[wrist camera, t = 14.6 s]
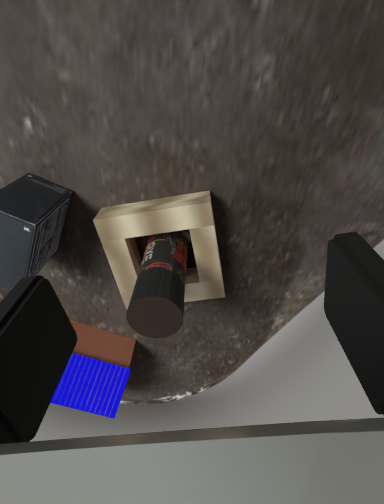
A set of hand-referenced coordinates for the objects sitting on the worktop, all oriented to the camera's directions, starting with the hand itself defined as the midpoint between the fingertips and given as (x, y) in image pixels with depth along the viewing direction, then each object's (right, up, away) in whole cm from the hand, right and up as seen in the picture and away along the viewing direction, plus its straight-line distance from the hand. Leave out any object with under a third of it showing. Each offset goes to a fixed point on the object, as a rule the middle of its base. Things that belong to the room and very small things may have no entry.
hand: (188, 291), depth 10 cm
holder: (-4, +2, +34) cm, 35 cm away
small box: (-21, +7, +32) cm, 39 cm away
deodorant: (-3, +2, +34) cm, 35 cm away
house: (-21, -16, +46) cm, 53 cm away
